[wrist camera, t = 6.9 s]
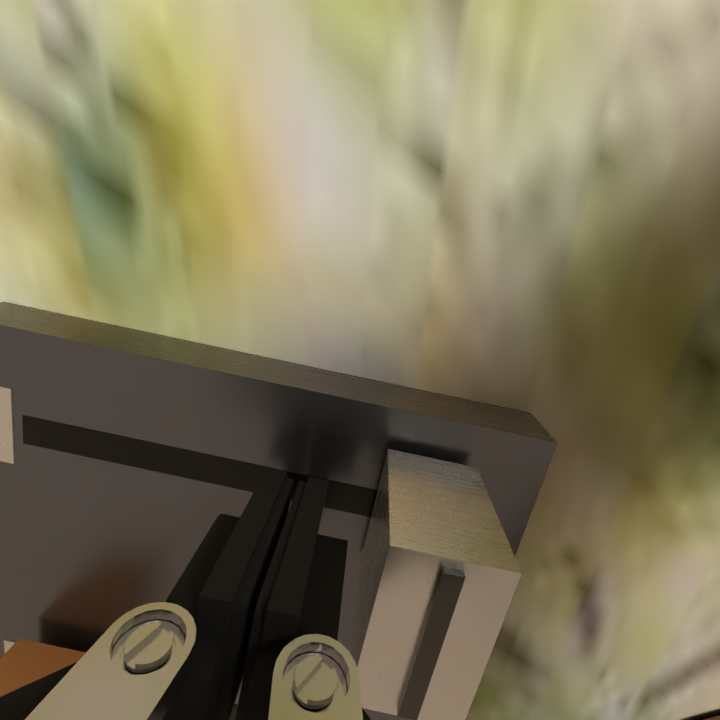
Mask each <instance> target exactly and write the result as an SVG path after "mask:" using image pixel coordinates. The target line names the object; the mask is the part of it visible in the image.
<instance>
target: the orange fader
mask: <svg viewBox="0 0 720 720" xmlns="http://www.w3.org/2000/svg"><path fill="white" fill-rule="evenodd" d="M84 654H85V652H81V651H76V650H71V649H67V648H62V647H57V646H53V645H48V644H43V643H39V642H34V641H29V640H25V639H20V638H19V639H18V640H17V641H16V642H15V643H14V645H13V646H12V647H11V648H10V649H9V650H8V651H7V652H6V653H5V654H4V655H3V656H2V657H1V658H0V697H1V696H3V695H5V694H8V693H10V692H12V691H14V690H16V689H19V688H21V687H23V686H25V685H27V684H29V683H32V682H34V681H36V680H38V679H40V678H43V677H45V676H47V675H49V674H51V673H54V672H56V671H58V670H60V669H62V668H65V667H67V666H69V665H71V664H73V663H76V662H78V661H79V660H80V659H81V658H82V657H83V656H84Z"/></svg>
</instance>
